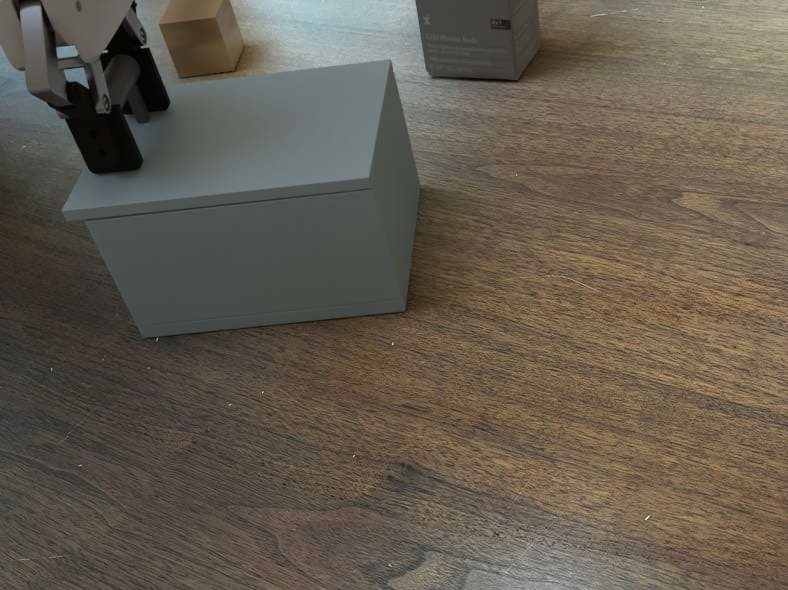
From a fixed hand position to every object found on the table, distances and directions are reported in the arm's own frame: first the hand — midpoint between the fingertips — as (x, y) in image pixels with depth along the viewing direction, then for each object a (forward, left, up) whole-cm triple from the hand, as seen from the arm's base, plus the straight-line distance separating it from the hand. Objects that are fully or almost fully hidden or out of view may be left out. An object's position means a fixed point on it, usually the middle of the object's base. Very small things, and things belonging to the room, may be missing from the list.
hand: (132, 136), depth 67 cm
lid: (+7, 0, -1) cm, 7 cm away
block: (-5, +31, -10) cm, 33 cm away
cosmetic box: (+20, +25, -10) cm, 34 cm away
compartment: (+7, 0, -10) cm, 12 cm away
